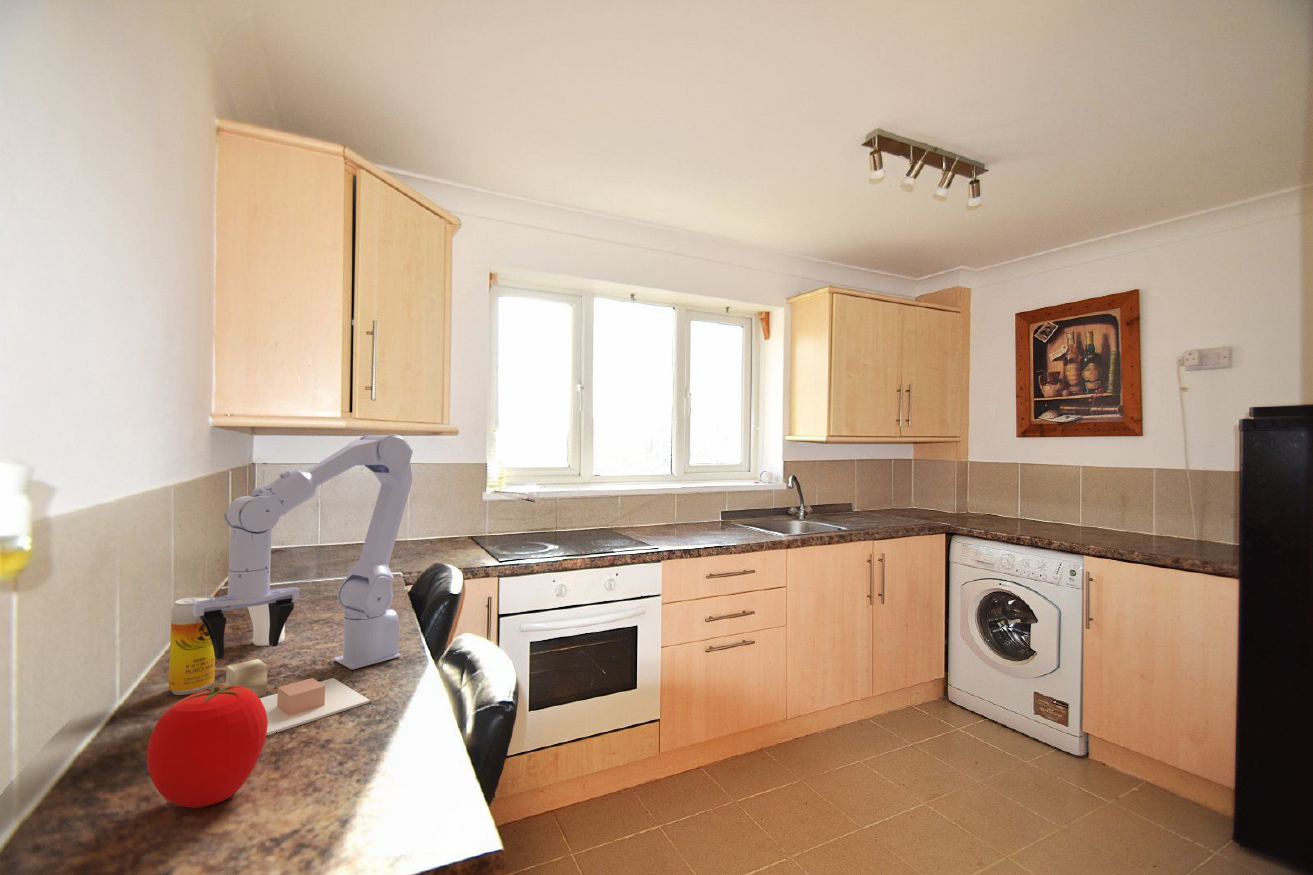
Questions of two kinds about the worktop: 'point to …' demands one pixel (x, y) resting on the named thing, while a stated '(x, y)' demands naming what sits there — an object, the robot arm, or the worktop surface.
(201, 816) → the worktop surface
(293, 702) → the terracotta block
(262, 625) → the cup
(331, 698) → the build mat
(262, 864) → the worktop surface
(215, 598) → the robot arm
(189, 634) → the beer can
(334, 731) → the worktop surface
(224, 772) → the tomato
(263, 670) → the maple block
